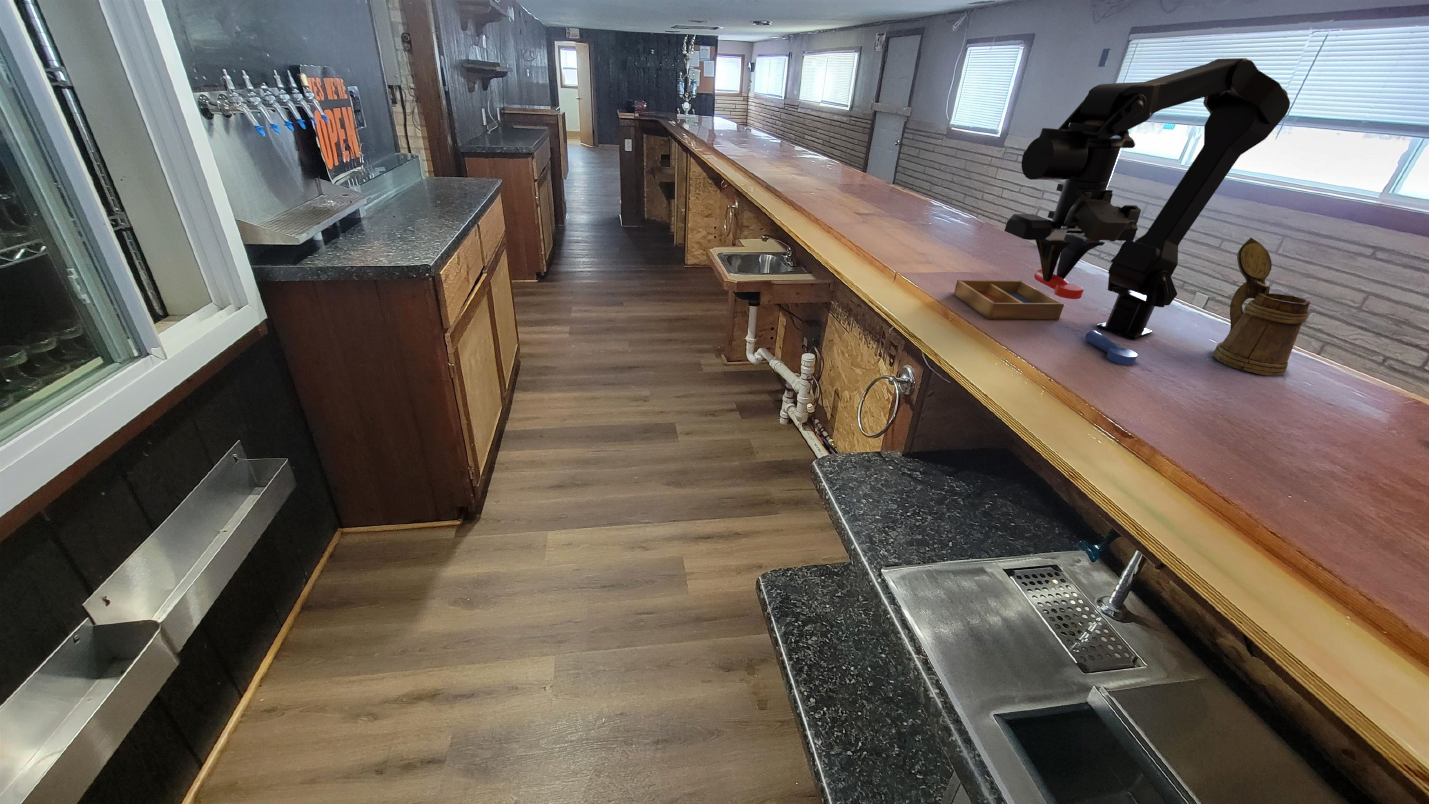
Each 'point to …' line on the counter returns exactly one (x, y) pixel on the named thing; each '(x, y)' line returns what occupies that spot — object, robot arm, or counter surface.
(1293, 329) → the wooden mug
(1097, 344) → the blue spoon
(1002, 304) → the cutlery tray
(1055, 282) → the red spoon
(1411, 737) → the counter surface
